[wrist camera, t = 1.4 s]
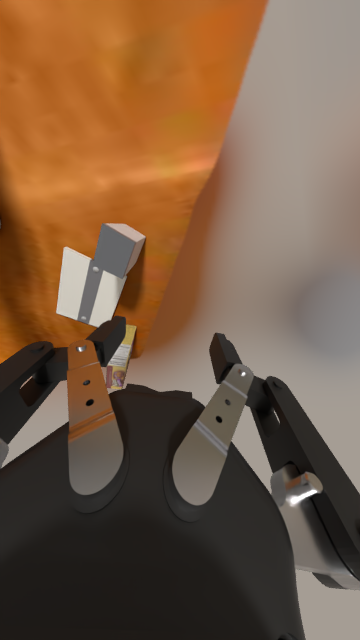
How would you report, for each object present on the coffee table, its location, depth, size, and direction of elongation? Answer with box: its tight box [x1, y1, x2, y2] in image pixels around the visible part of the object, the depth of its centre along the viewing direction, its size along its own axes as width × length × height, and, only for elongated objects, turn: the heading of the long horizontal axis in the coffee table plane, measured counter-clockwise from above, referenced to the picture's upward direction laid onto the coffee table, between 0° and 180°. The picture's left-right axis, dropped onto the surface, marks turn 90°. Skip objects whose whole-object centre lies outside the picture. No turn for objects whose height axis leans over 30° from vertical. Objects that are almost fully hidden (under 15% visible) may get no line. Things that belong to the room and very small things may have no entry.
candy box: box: [106, 324, 137, 389], centre depth 38 cm, size 9×4×15 cm, turn 162°
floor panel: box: [56, 247, 127, 327], centre depth 35 cm, size 13×18×1 cm
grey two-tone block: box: [93, 224, 146, 279], centre depth 25 cm, size 4×6×12 cm
